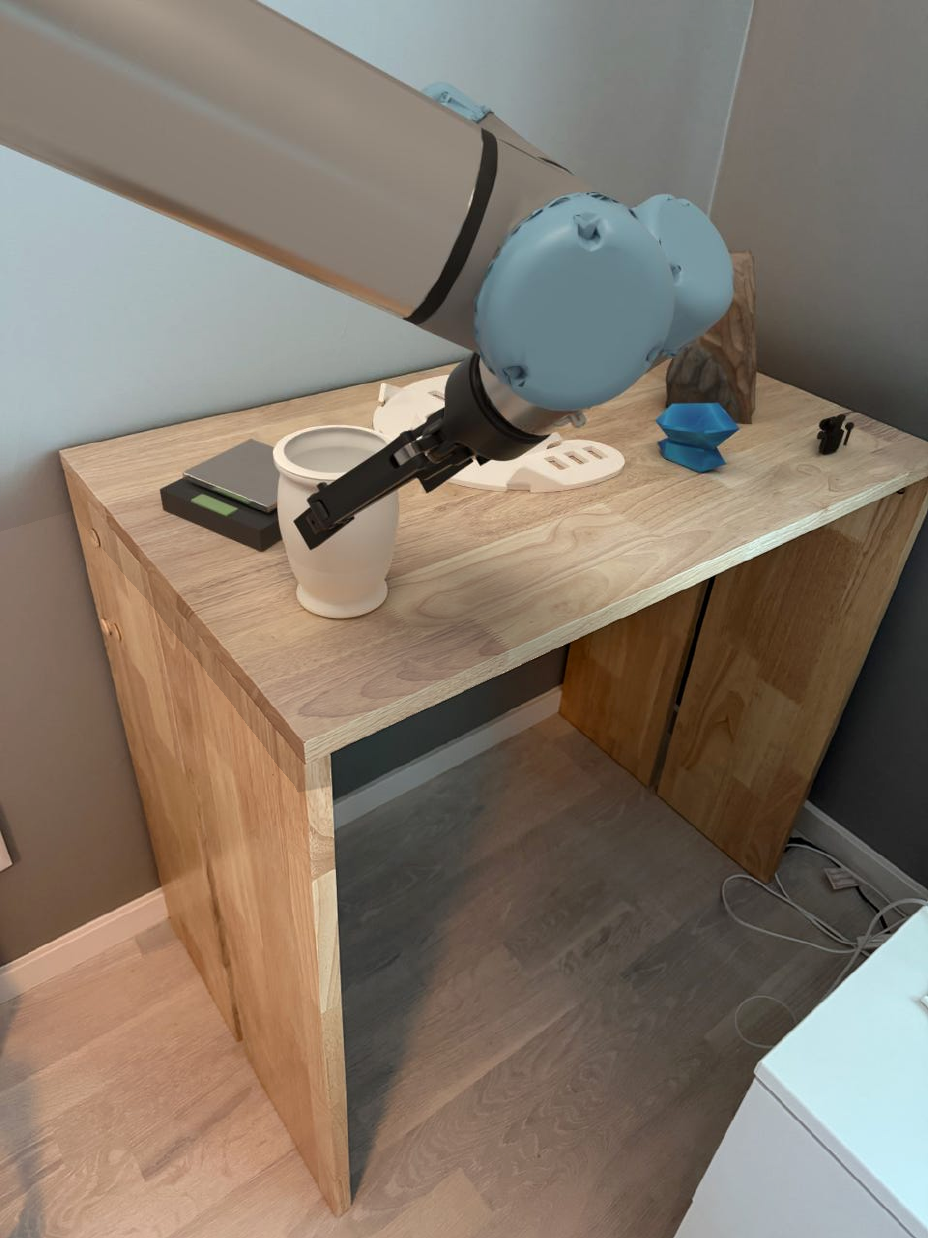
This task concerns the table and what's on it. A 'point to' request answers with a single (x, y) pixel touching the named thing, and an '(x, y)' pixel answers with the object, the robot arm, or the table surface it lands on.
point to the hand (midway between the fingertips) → (366, 505)
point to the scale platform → (241, 475)
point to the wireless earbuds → (833, 433)
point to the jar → (358, 553)
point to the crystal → (695, 434)
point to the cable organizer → (522, 473)
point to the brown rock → (722, 354)
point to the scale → (222, 514)
